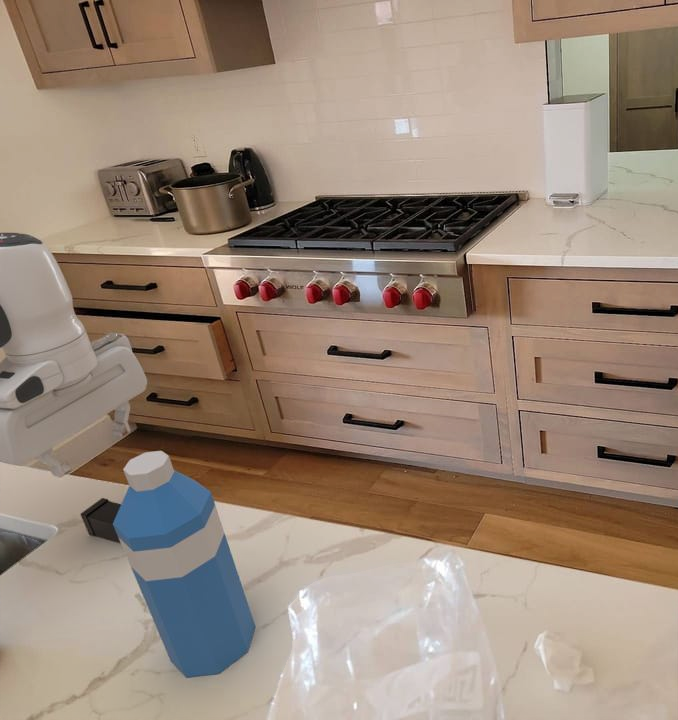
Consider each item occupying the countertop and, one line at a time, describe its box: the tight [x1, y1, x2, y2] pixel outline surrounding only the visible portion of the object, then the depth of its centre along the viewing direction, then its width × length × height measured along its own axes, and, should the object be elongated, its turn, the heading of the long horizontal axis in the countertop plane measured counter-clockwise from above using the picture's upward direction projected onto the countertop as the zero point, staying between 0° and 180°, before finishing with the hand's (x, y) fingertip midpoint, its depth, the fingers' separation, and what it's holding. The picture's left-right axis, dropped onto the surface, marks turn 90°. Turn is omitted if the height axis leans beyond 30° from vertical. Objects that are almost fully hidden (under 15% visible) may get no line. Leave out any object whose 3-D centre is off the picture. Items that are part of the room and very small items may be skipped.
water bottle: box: [113, 450, 256, 679], centre depth 72 cm, size 9×9×25 cm
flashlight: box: [79, 497, 122, 544], centre depth 95 cm, size 12×4×4 cm, turn 67°
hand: (94, 453), depth 90 cm, fingers open, 8 cm apart
